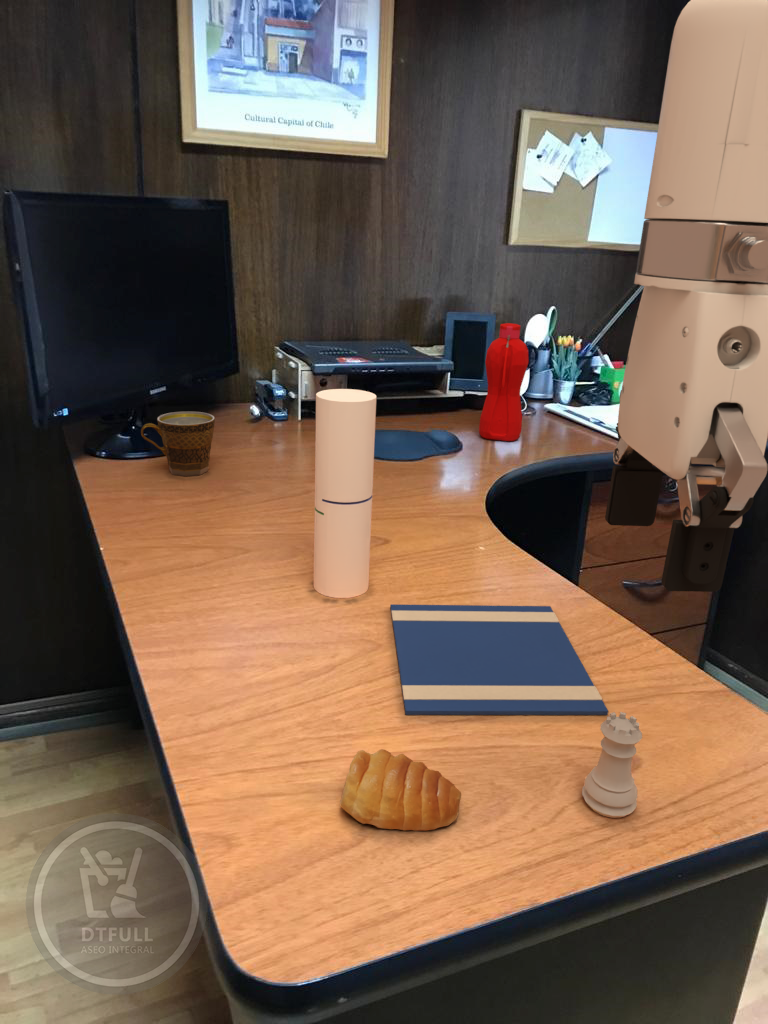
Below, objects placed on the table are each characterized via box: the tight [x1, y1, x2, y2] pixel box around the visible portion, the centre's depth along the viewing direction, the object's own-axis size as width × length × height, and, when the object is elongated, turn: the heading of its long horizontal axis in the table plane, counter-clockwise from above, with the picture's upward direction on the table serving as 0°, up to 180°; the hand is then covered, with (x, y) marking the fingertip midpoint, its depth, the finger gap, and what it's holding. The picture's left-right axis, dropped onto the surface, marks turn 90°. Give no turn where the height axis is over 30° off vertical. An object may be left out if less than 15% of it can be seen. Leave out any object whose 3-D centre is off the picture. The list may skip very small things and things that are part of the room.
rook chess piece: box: [581, 711, 643, 819], centre depth 63 cm, size 4×4×8 cm
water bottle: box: [478, 322, 530, 442], centre depth 169 cm, size 9×11×25 cm
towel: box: [389, 603, 609, 716], centre depth 85 cm, size 20×22×1 cm
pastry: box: [339, 748, 462, 832], centre depth 62 cm, size 9×7×4 cm
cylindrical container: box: [313, 388, 377, 599], centre depth 96 cm, size 7×7×25 cm
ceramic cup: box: [140, 410, 216, 478], centre depth 139 cm, size 13×10×10 cm
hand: (656, 553), depth 47 cm, fingers open, 9 cm apart
